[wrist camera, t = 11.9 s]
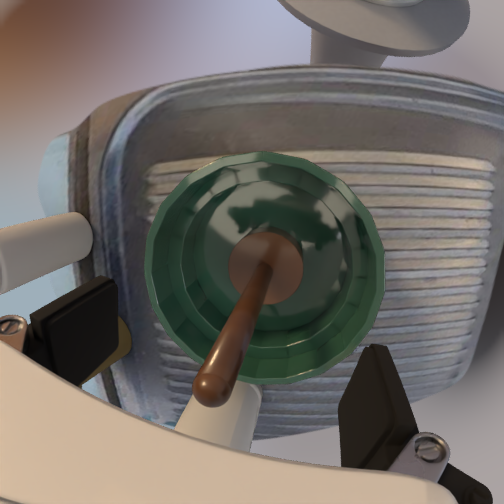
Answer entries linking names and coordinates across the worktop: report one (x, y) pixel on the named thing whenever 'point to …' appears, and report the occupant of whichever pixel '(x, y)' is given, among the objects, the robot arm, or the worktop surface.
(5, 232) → the beverage can
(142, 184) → the worktop surface
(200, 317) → the bowl
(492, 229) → the worktop surface
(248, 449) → the travel mug
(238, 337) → the brown rod with base
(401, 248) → the worktop surface
